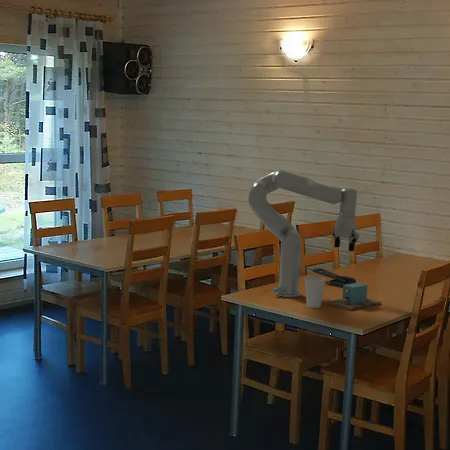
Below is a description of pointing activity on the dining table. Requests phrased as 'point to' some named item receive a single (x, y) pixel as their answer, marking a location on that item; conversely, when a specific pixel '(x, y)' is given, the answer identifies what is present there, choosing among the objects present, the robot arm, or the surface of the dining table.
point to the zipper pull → (336, 278)
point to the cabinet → (355, 292)
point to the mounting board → (345, 304)
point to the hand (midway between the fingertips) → (344, 249)
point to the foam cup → (314, 291)
